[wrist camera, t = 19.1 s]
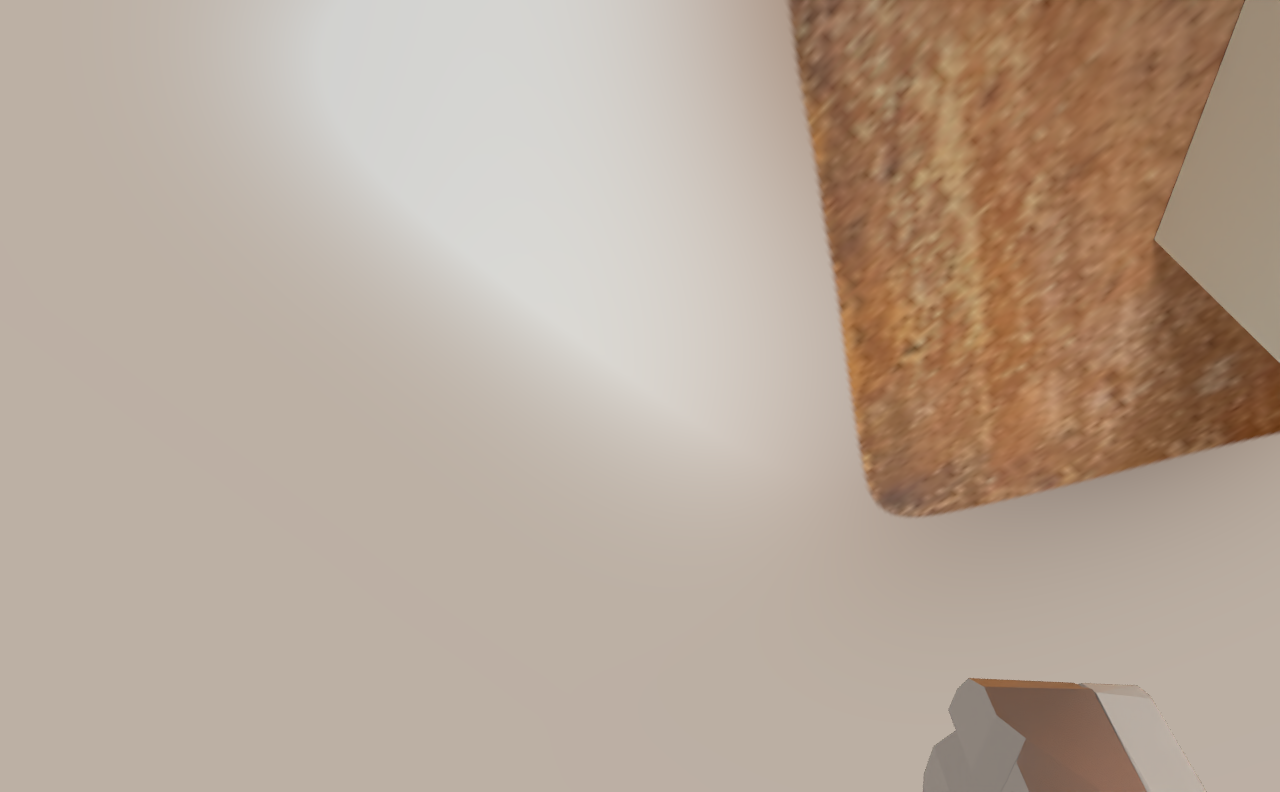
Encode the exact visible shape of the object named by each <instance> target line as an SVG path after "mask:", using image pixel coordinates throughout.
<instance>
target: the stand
mask: <svg viewBox="0 0 1280 792" xmlns="http://www.w3.org/2000/svg"><path fill="white" fill-rule="evenodd" d="M1154 240H1155V241H1156V242H1157V243H1158V244H1159V245H1160V246H1161V247H1162V248H1163V249H1164V250H1165V251H1166V252H1167V253H1168V254H1169V255H1170V256H1171V257H1172V258H1173V259H1174V260H1175V261H1176V262H1177V263H1178V264H1179V265H1180V266H1181V267H1182V268H1184V269H1185V270H1186V271H1187V272H1188V273H1189V274H1190V275H1191V276H1192V277H1193V278H1194V279H1195V280H1196V281H1197V282H1198V283H1199V284H1200V285H1201V286H1202V287H1203V288H1204V289H1205V290H1206V291H1207V292H1208V293H1209V294H1210V295H1211V296H1212V297H1213V298H1214V299H1215V300H1216V301H1217V302H1218V303H1219V304H1220V305H1221V306H1222V307H1223V308H1224V309H1225V310H1226V311H1227V312H1228V313H1229V314H1230V315H1231V316H1232V317H1233V318H1234V319H1235V320H1236V321H1237V322H1238V323H1239V324H1240V325H1241V326H1242V327H1244V328H1245V329H1246V330H1247V331H1248V332H1249V333H1250V334H1251V335H1252V336H1253V337H1254V338H1255V339H1256V340H1257V341H1258V342H1259V343H1260V344H1261V345H1262V346H1263V347H1264V348H1265V349H1266V350H1267V351H1268V352H1269V353H1270V354H1271V355H1272V356H1273V357H1274V358H1275V359H1276V360H1277V361H1278V362H1279V363H1280V0H1245V2H1244V5H1243V7H1242V10H1241V13H1240V15H1239V18H1238V21H1237V23H1236V26H1235V28H1234V31H1233V34H1232V36H1231V39H1230V42H1229V44H1228V47H1227V49H1226V52H1225V55H1224V57H1223V60H1222V63H1221V65H1220V68H1219V70H1218V73H1217V76H1216V78H1215V81H1214V84H1213V86H1212V89H1211V92H1210V94H1209V97H1208V99H1207V102H1206V105H1205V107H1204V110H1203V113H1202V115H1201V118H1200V120H1199V123H1198V126H1197V128H1196V131H1195V134H1194V136H1193V139H1192V142H1191V144H1190V147H1189V149H1188V152H1187V155H1186V157H1185V160H1184V163H1183V165H1182V168H1181V170H1180V173H1179V176H1178V178H1177V181H1176V184H1175V186H1174V189H1173V191H1172V194H1171V197H1170V199H1169V202H1168V205H1167V207H1166V210H1165V213H1164V215H1163V218H1162V220H1161V223H1160V226H1159V228H1158V231H1157V234H1156V236H1155V239H1154Z"/></svg>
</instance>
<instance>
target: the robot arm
mask: <svg viewBox="0 0 1280 792" xmlns="http://www.w3.org/2000/svg"><path fill="white" fill-rule="evenodd" d="M949 713H950V715H951V718H952V721H953V723H954V726H955V729H956V731H954V732H953V733H951V734H950V735H949V736H947V737H946V738H944V739H943V740H942V741H940V742H939V743H937V744H936V745H935V746H934V747H933V750H932V752H931V755H930V758H929V761H928V764H927V767H926V769H925V772H924V782H923V792H1206V790H1205V788H1204V786H1203V785H1202V783H1201V781H1200V780H1199V778H1198V776H1197V774H1196V773H1195V771H1194V769H1193V768H1192V766H1191V764H1190V763H1189V761H1188V759H1187V758H1186V756H1185V754H1184V752H1183V751H1182V749H1181V747H1180V745H1179V744H1178V742H1177V740H1176V739H1175V737H1174V735H1173V733H1172V732H1171V730H1170V728H1169V727H1168V725H1167V723H1166V722H1165V720H1164V718H1163V716H1162V715H1161V713H1160V712H1159V710H1158V708H1157V706H1156V704H1155V703H1154V701H1153V699H1152V698H1151V697H1150V695H1149V694H1147V693H1146V692H1145V691H1144V690H1142V689H1141V688H1140V687H1138V686H1135V685H1112V684H1090V683H1081V684H1075V683H1063V682H1043V681H1042V682H1041V681H1020V680H997V679H974V678H968V679H967V680H966V681H965V682H964V683H963V684H962V685H961V686H960V687H959V688H958V689H957V691H956V694H955V696H954V698H953V700H952V703H951V705H950V708H949Z"/></svg>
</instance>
